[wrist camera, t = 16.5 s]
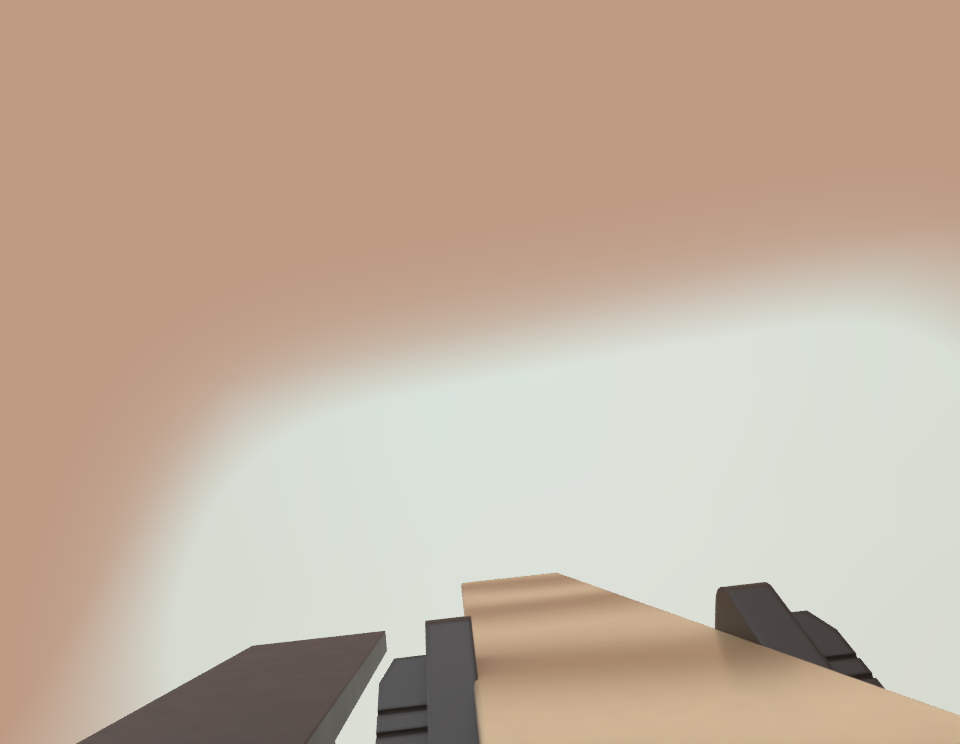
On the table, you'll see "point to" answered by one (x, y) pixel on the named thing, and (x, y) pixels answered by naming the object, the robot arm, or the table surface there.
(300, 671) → the stand
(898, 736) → the ash stick
